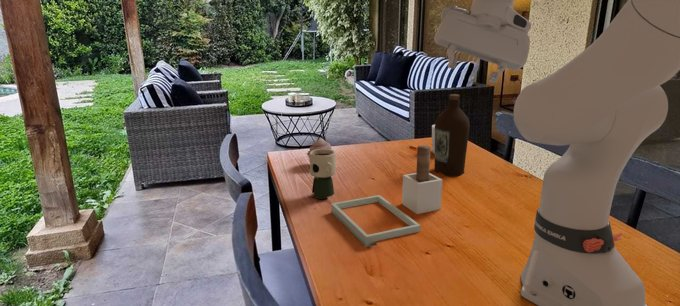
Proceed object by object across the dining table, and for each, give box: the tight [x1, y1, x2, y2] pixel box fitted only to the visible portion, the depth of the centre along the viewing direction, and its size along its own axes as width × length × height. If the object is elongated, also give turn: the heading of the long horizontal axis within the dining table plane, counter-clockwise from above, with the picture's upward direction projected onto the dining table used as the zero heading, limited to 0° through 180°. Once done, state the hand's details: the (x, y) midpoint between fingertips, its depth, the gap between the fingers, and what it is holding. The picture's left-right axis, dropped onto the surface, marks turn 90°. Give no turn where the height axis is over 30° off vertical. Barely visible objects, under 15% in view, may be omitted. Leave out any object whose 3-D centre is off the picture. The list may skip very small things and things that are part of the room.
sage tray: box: [330, 194, 422, 248], centre depth 110 cm, size 20×14×2 cm
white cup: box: [431, 124, 435, 155], centre depth 165 cm, size 8×8×10 cm
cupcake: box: [306, 137, 332, 158], centre depth 151 cm, size 9×9×10 cm
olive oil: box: [434, 93, 471, 177], centre depth 143 cm, size 11×11×25 cm
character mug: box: [308, 149, 336, 200], centre depth 125 cm, size 11×7×13 cm, turn 26°
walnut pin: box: [415, 145, 432, 183], centre depth 116 cm, size 3×3×16 cm
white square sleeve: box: [401, 172, 443, 215], centre depth 117 cm, size 7×7×9 cm
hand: (472, 74), depth 98 cm, fingers open, 8 cm apart
